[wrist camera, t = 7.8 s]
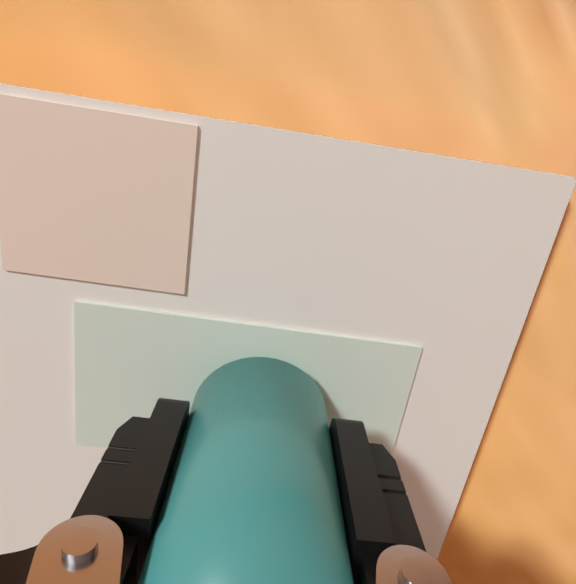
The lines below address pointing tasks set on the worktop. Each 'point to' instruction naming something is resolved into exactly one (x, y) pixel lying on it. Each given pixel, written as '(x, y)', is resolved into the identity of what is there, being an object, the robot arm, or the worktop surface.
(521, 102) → the worktop surface
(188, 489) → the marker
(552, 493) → the worktop surface
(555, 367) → the worktop surface
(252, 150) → the board
